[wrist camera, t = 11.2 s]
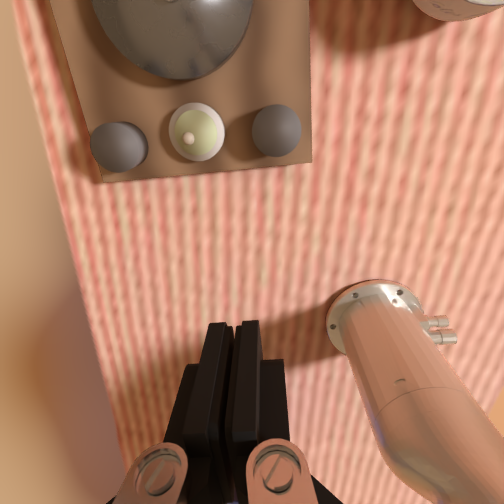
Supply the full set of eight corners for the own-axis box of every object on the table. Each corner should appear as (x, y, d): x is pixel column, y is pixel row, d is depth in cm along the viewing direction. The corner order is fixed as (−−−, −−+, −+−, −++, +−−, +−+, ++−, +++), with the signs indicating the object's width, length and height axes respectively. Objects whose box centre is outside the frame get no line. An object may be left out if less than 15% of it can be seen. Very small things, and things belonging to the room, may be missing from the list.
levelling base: (302, -126, 25) (311, -184, 20) (308, 158, 34) (316, 167, 29) (39, -84, 26) (-12, -128, 22) (113, 177, 36) (89, 189, 31)
